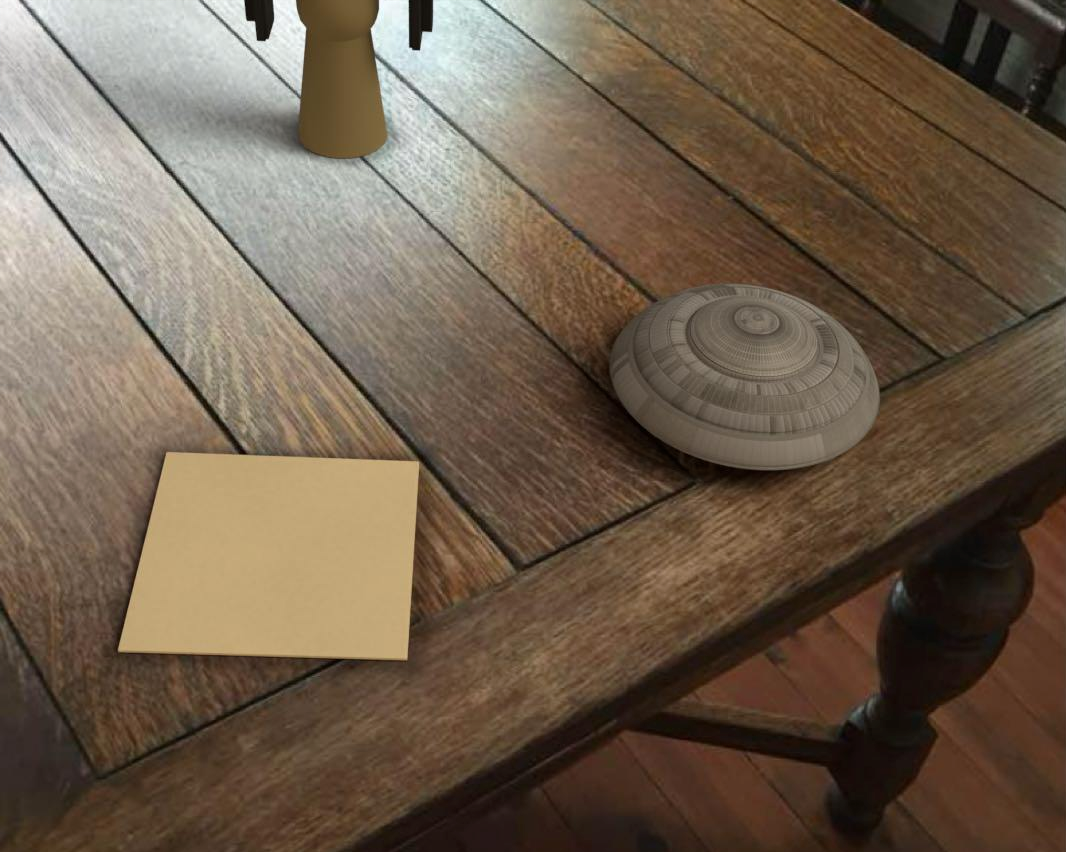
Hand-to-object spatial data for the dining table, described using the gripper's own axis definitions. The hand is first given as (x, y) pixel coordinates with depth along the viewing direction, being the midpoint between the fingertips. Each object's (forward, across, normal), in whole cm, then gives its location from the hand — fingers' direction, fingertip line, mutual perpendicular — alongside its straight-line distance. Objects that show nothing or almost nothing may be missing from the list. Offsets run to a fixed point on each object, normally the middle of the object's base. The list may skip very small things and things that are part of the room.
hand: (341, 35), depth 87 cm
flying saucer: (+7, -25, +25) cm, 36 cm away
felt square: (+7, -1, +38) cm, 39 cm away
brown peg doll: (+7, 0, 0) cm, 7 cm away
